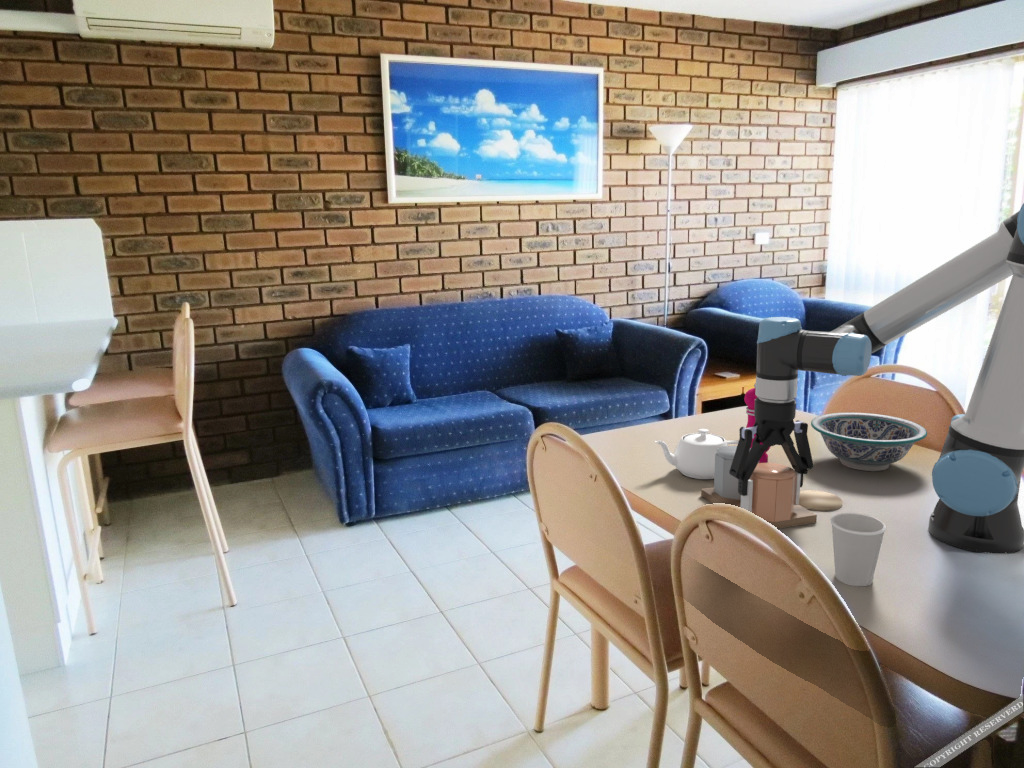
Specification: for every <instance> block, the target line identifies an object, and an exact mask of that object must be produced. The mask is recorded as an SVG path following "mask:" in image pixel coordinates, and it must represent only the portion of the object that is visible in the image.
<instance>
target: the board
mask: <svg viewBox="0 0 1024 768" xmlns="http://www.w3.org/2000/svg"><path fill="white" fill-rule="evenodd" d="M700 496H701V497H702V498H703V499H705V500H707V502H709V503H710V504H712V503H725V504H731V505H735V506H738V507H740V506H741V500H737V499H730V498H724V497H721V496H720V495H718V494H717V493H715V492H714V486H713V487H705V488H701V489H700ZM817 517H818V515H817V514H816V513H814V512H813V511H811V510H810V509H806V508H804V507H802V506H800V505H794V509H793V515H792V517H791V519H790V520H785V521H778V522H771V521H767V522H769V523H771V524H772V525H774V526H775V527H777V528H778V529H783V528H789V527H796V526H802V525H808V524H814V523H817Z"/></svg>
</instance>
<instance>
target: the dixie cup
mask: <svg viewBox="0 0 1024 768" xmlns="http://www.w3.org/2000/svg"><path fill="white" fill-rule="evenodd" d="M829 522H830V524H831V529H832V532H831V533H832V545H833V546H832V547H833V559H834V560H833V564H834V576H835V578H836V579H837V580H838V581H839V582H841V583H843V584H845V585H849V586H853V587H867V586H870V585H871V584H872V583H873V580H874V575H875V572H876V567H877V565H878V564H877V563H878V559H879V555H880V551H881V547H882V543H883V540H884V539H883V538H884V534H885V532H886V531H887V525H886V524H885V523H884V522H883V521H882V520H880V519H878V518H876V517H874V516H870V515H867V514H863V513H856V512H855V513H854V512H842V513H837V514H835V515H833V516H832V517H831V518H830V521H829Z"/></svg>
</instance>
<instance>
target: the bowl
mask: <svg viewBox="0 0 1024 768" xmlns="http://www.w3.org/2000/svg"><path fill="white" fill-rule="evenodd" d="M810 426H811V427H812V428H813V430H815V431H817V432H818V433H820V435H821V438H822V440H823V442H824V445H825V446H826V448H827V449H828V451H829V452H830V453H831V454H832V455H833V456H835V457H836V458H838V459H839V462H840V463H841V464H842V465H843V466H845V467H846V468H849V469H853V470H857V471H865V472H880V471H885V470H887V469H889V468H890V465H891V464H895V463H897V462H898V461H900V460H902V459H904V458H905V456H906V455H907V454H908V453H909V451H910V450H911V448H912V447H913V446H914V444H915V443H917V442H920V441H921V440H925V438H927V436H928V431H927V430H928V429H926V427H924V426H923V425H921V424H918V423H917V422H914V421H911V420H910V419H904V418H902V417H897V416H892V415H886V414H885V415H884V414H879V413H869V412H849V411H848V412H833V413H831V412H830V413H826V414H821V415H818V416H816V417H814V418H813V419H812V420H811V421H810Z"/></svg>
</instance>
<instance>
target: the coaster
mask: <svg viewBox="0 0 1024 768" xmlns="http://www.w3.org/2000/svg"><path fill="white" fill-rule="evenodd" d="M799 505H800V506H802V507H804V508H806V509H807V510H810V511H811V510H813V511H822V512H823V511H825V512H827V511H829V512H830V511H835V510H839V509H840V508H842V507H843V500H842V498H841V497H839V496H837V494H833V493H830V492H827V491H822V490H816V489H815V490H813V489H804V490H803V489H802V490H800V496H799Z"/></svg>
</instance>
